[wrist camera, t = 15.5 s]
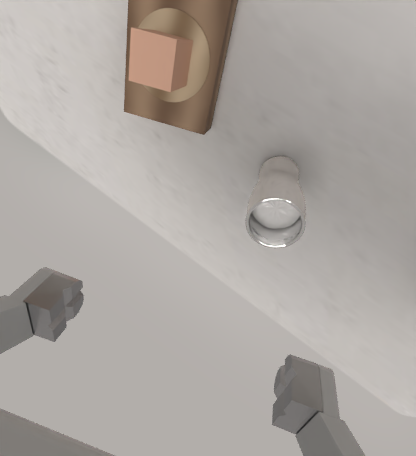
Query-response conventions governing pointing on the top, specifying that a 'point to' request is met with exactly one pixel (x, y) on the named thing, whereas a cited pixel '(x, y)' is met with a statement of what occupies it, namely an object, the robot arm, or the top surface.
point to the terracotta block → (159, 59)
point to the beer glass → (277, 204)
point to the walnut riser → (199, 63)
